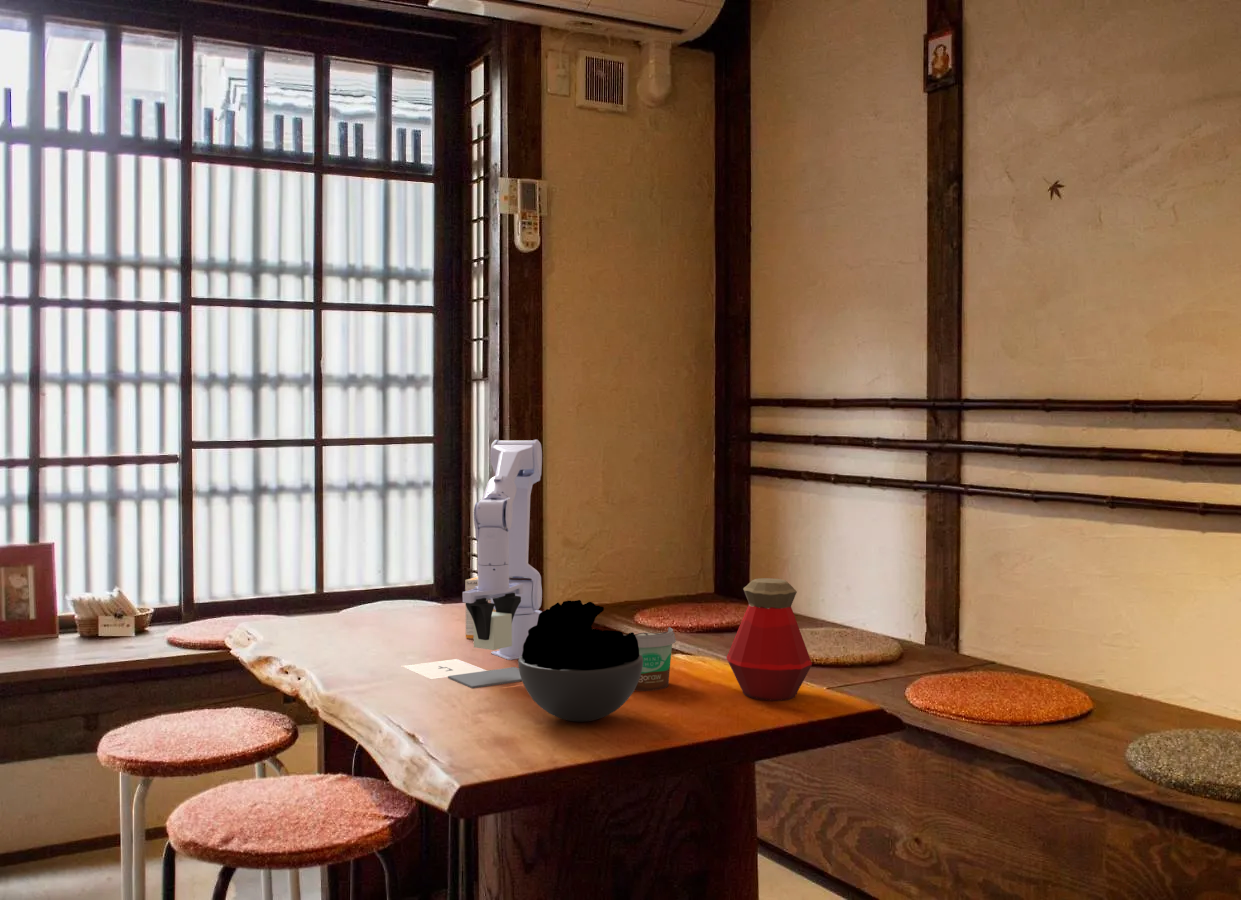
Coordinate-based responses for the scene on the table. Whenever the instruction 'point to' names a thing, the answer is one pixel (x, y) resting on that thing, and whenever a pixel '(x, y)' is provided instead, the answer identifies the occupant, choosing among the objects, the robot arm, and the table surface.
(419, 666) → the card
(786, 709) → the table surface
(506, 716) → the table surface
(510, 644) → the sage block
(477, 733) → the table surface
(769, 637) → the bottle
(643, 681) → the food container
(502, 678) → the slate mat
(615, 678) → the bowl of black rocks
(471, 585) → the supplement box
